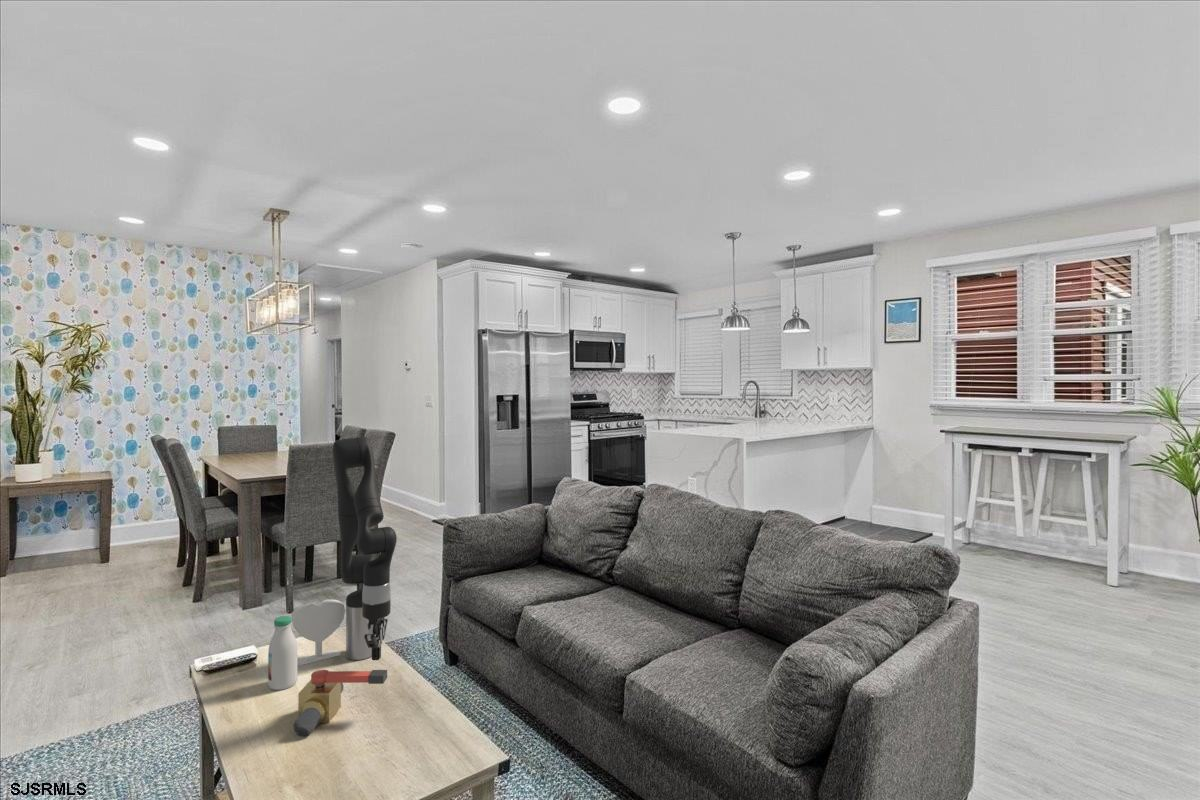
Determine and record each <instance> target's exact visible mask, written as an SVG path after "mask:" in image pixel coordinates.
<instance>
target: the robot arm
mask: <svg viewBox="0 0 1200 800" xmlns="http://www.w3.org/2000/svg"><path fill="white" fill-rule="evenodd" d="M373 453H374V452H373V446H372V443H371V441H370V440H369V438H368V437H366V436H359V437H357V436H355V437H350V438H341V439H337V440H335V441H334V442H333V445H332V458H333V466H334V467H333V468H334V473H335V481H336V488H337V514H338V515H337V516H338V525H339V535H340V576H341V580H342V582H343V583H344V584H345V585H347V584H348V585H353V584H354V585H355V584H357V585H358V584H363V587H361V588H359V589H357V590H355V591H352V592H350V593H348V594H347V596H346V597H345V598H346V599H345V658H346V659H348V660H352V661H360V660H365V659H369V658H370V657H371V660H372V661H379V660H380V659H381V658H382V645H383V641H384V640H385V635H386V632H387V626H388V622H389V620H388V618H386V617H388V616H389V615H390V614H391V608H392V607H391V603H392V601H391V600H392V599H391V596H392V595H391V592H392V591H391V582H390V581H391V580H390V578H391V577H390V574H391V564H392V561H393V560H392V559H393V556H394V552H395V549H396V545H397V542H398V541H397V539H398V538H397V533H396V531H395V529H394V528H393V527H391V526H384V527H383V526H382V527H375V528H372V527H374V526H377V525H379V524H380V523H382V521H383V520H384V512H383V508H382V504H381V500H380V496H379V491H378V490H379V489H378V484H377V483H378V482H377V475H376V474H377V473H376V467H375V457H374V454H373ZM362 467H363V475H362V477H361V480H360V481H359V482H360V483H359V484H358V486H356V485H355V484H354V482H353V481H352V479H351V478H350V477H349V475H348V473H347V470H348V469H355V468H362ZM355 546H356V547H357V550H358V551H359V553H360V554H353V550H354V548H355ZM375 554H379V555H378V557H376V555H375Z"/></svg>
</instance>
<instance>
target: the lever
mask: <svg viewBox="0 0 1200 800" xmlns="http://www.w3.org/2000/svg"><path fill="white" fill-rule="evenodd" d="M310 675H311V677H310V678H311V679H310V680H311V683H312V684H314V685H320V684H324V683H343V684H345V683H346V684H347V683H349V684H350V683H351V684H352V683H353V684H354V683H355V684H357V683H358V684H359V683H363V684H365V683H366V684H369V685H372V684H373V685H377V684H378V685H384V683H385V682H386V680H387V679H388V669H372V670H361V671H360V670H357V671H354V670H351V671H350V670H349V671H347V670H346V671H345V670H337V671H335V670H334V671H331V670H330V671H329V670H327V669H317V670H315V671H313V672H312V673H311V674H310Z"/></svg>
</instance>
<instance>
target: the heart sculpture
mask: <svg viewBox="0 0 1200 800" xmlns="http://www.w3.org/2000/svg"><path fill="white" fill-rule="evenodd" d="M345 615H346V607H345V604H343V602H342V601H340V600H338V599H324V600H322V601H321V602H319V603H318V604H316V603H313V602H308V603H305V604H303V605H300V606H297V607H296V608H295V609H294V610H293V611H292V614H291V619H292V622H291V624H292V627H293V629H294V630H295V631H296V632H297V633H298V634H299V636H301V637H302V638H304V639H306V640H307V641H312V642H315V654H313V655H309V656H305V657H300V658H297V665H300V666H302V665H307V664H311V663H314V662H318V661H323V660H327V659H330V658H334V657H338V656H340V655H341V651H340V650H336V649H333V650H329V651H325V652H323V642H324V641H325V640H326V639H328V638H329V637H330V636H331V635H333V633H334V632H336V630H338V629H339V628H340V626H341V624H342V623H343V621H344V618H345Z"/></svg>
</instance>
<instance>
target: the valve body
mask: <svg viewBox="0 0 1200 800" xmlns="http://www.w3.org/2000/svg"><path fill="white" fill-rule="evenodd" d="M344 688H345V687H344V683H324V684H320V685H314V684H312V683H311V679H309V681H308V682H307V683H306V684H305V686H304V687H303V688H302V689H301V690H300V691H299V692H298V693H297V694H298V696H297V697H298V699H297V700H298V709H297V710H298V711H297V712H298V718H296V720H295V721H294V724H293V730H294V732H295V733H296V734H297V735H298V736H300V737H307V736H309V735H310V734H312V733H313V731H314V730H315V729H316V727H317V726H318V725H319V724H330V722H331V721H332V720H333V718H334V717H335V716H336V714H337V713H338V712H339V710H340V709H341V707H342V705H341V704H342V698H341V697H342V693H343V691H344Z"/></svg>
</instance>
